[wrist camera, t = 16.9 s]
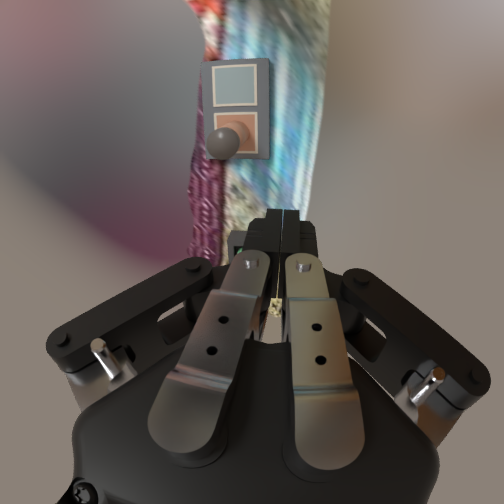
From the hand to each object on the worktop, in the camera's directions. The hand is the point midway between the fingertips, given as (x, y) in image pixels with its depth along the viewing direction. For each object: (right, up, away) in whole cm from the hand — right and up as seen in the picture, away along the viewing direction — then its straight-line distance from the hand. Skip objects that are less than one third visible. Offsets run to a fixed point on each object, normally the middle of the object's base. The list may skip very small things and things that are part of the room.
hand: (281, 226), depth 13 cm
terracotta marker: (-4, +17, +26) cm, 31 cm away
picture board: (-4, +20, +24) cm, 32 cm away
